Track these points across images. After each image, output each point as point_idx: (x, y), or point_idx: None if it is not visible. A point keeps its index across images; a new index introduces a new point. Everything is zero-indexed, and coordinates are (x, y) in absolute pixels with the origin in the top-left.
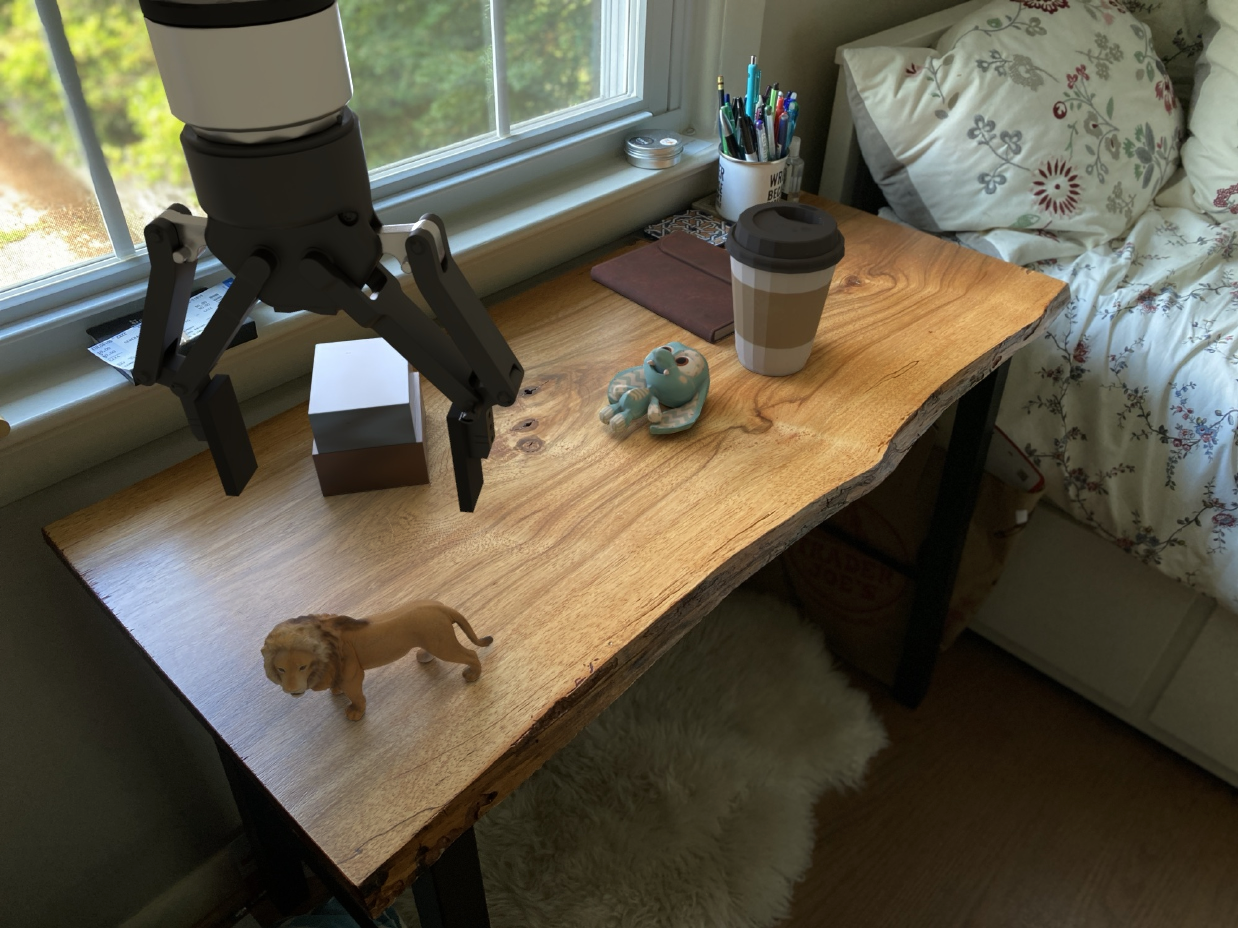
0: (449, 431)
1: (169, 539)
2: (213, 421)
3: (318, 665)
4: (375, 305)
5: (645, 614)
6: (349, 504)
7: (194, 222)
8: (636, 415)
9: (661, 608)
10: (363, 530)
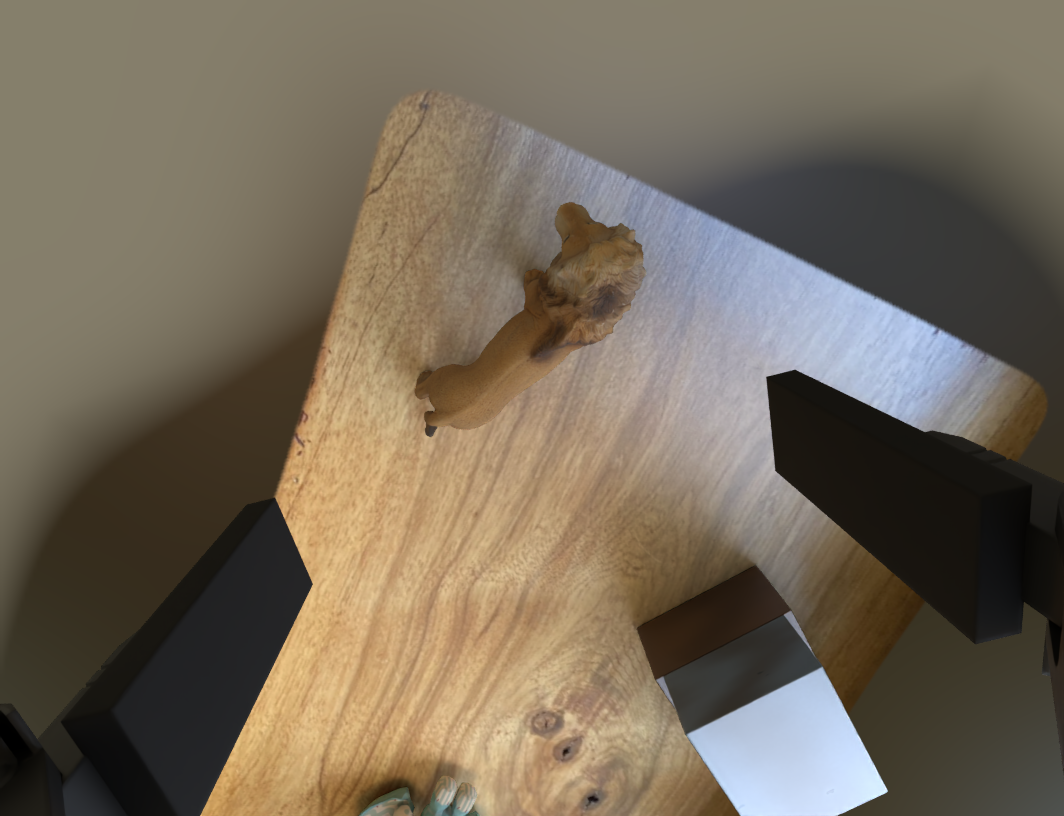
0: (143, 663)
1: None
2: (917, 461)
3: (556, 261)
4: None
5: None
6: (716, 564)
7: None
8: (426, 809)
9: None
10: (677, 533)
